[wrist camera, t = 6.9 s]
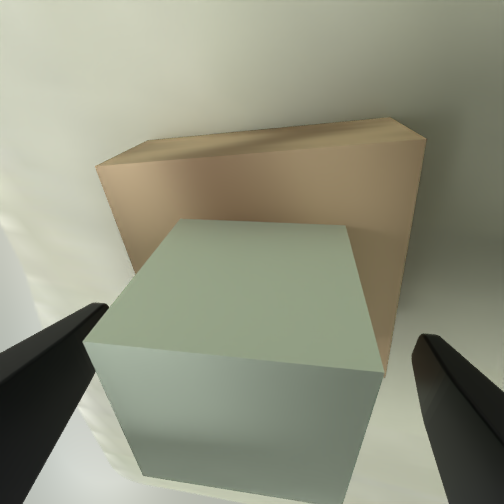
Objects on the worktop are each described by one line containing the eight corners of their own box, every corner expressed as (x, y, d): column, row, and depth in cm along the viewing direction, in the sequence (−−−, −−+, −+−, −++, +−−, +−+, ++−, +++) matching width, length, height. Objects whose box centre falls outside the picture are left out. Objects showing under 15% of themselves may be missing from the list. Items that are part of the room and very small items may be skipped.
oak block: (387, 115, 11) (426, 139, 7) (366, 308, 15) (385, 377, 12) (151, 138, 12) (94, 166, 9) (197, 307, 17) (170, 367, 14)
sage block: (345, 225, 9) (384, 372, 5) (327, 344, 11) (341, 508, 7) (180, 218, 9) (82, 341, 5) (199, 332, 12) (143, 475, 8)
